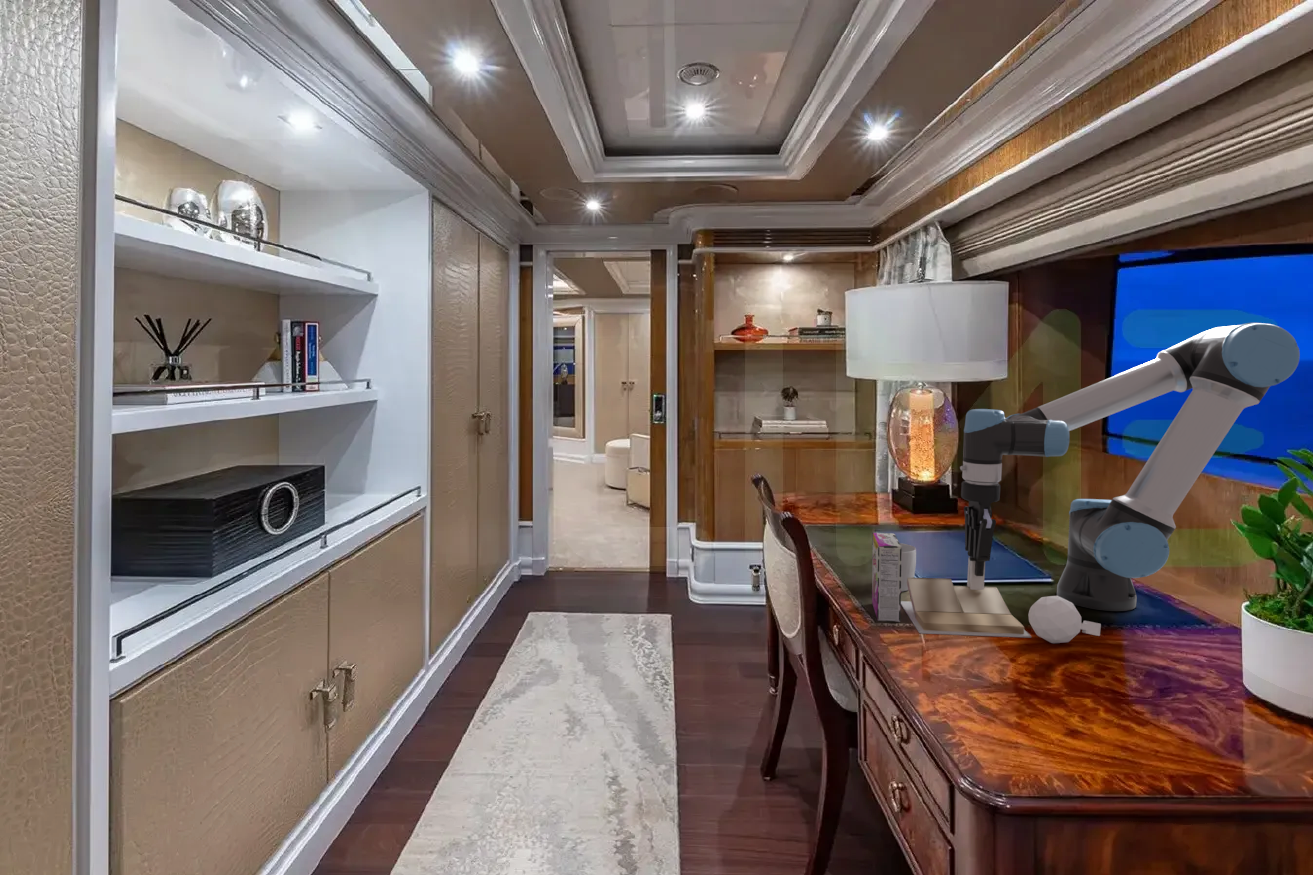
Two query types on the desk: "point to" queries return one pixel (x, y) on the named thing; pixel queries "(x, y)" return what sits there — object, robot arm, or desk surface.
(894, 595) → the candy bar box
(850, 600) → the desk surface
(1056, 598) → the perfume bottle
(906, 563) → the mug
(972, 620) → the laid plank
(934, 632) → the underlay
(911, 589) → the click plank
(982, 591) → the panel
